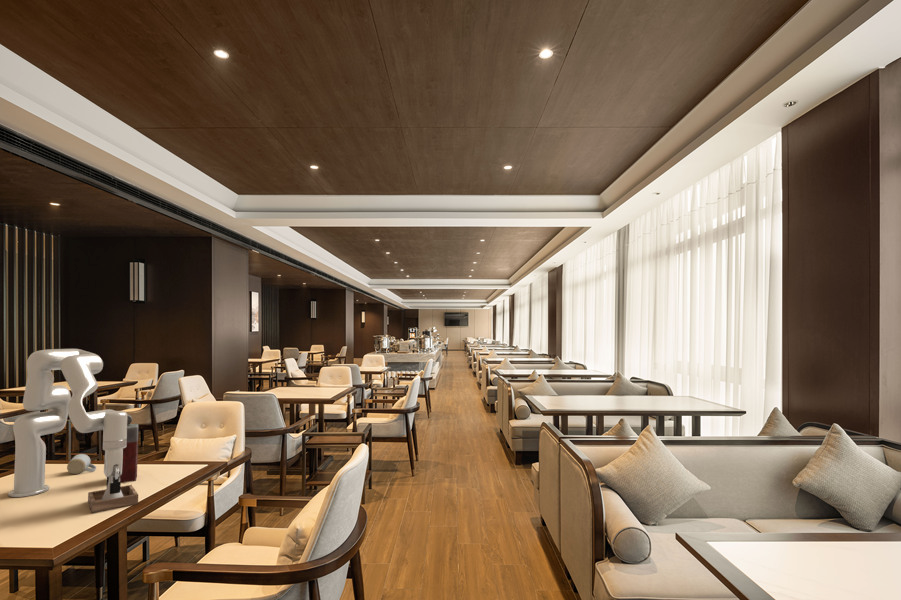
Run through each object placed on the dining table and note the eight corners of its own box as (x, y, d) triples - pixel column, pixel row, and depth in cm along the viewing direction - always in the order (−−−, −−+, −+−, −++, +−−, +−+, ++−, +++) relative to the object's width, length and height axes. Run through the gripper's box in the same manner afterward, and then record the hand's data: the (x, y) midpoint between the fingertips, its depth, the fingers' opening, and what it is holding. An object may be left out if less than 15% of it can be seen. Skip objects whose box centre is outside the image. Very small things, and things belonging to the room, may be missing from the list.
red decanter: (137, 474, 223) (139, 412, 225) (135, 480, 214) (137, 415, 215) (113, 477, 219) (115, 414, 221) (111, 484, 209) (113, 417, 211)
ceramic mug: (65, 475, 222) (66, 458, 222) (70, 471, 229) (71, 454, 230) (93, 473, 226) (94, 456, 227) (97, 468, 234) (98, 452, 234)
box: (87, 501, 188) (88, 492, 188) (131, 493, 197) (131, 484, 197) (92, 513, 176) (92, 503, 176) (138, 504, 185) (138, 494, 185)
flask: (112, 505, 182) (112, 478, 183) (95, 504, 184) (96, 477, 184) (128, 498, 189) (129, 472, 190) (112, 497, 191) (113, 471, 191)
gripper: (100, 442, 192) (98, 486, 191) (105, 450, 179) (103, 498, 178) (123, 439, 197) (121, 482, 196) (130, 446, 184) (128, 493, 182)
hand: (113, 490), depth 187 cm, fingers open, 9 cm apart
